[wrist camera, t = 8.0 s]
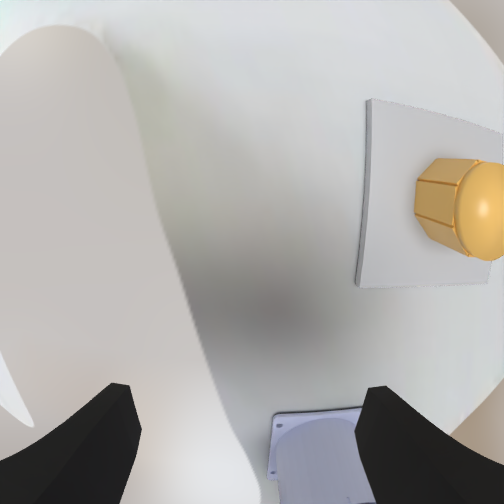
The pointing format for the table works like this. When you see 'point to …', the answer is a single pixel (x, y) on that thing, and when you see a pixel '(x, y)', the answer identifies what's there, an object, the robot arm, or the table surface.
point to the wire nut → (463, 206)
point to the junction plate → (413, 196)
